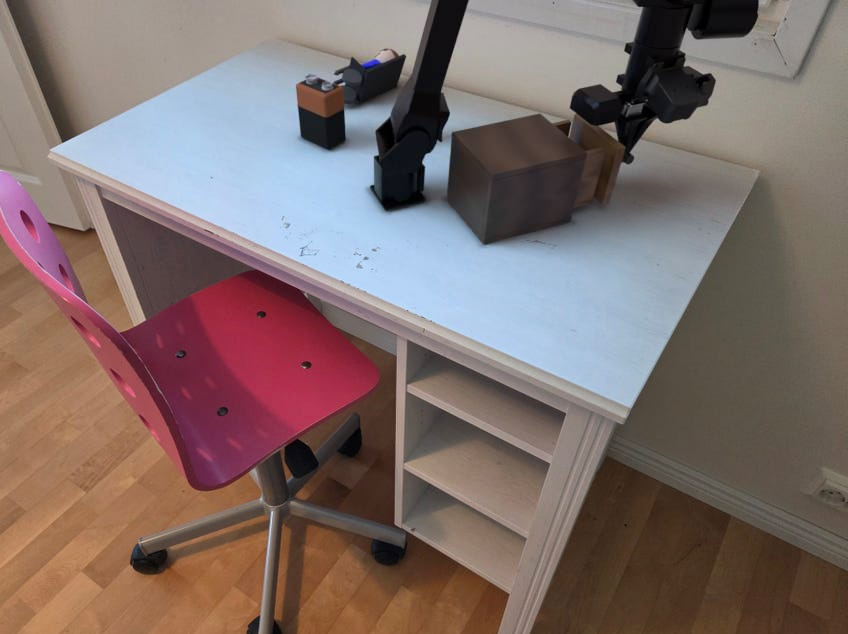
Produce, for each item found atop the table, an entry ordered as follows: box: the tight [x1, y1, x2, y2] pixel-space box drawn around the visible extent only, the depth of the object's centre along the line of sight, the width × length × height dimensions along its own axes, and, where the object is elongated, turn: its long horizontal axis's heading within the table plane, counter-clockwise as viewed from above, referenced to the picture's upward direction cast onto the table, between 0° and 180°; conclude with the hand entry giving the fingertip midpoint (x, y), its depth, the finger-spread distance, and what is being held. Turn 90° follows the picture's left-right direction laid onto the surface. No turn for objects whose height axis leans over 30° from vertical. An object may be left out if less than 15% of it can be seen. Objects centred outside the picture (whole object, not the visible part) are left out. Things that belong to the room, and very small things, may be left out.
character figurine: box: [332, 48, 407, 105], centre depth 116 cm, size 8×7×15 cm
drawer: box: [551, 113, 635, 209], centre depth 91 cm, size 17×10×9 cm, turn 111°
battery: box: [295, 73, 347, 150], centre depth 104 cm, size 4×7×10 cm, turn 48°
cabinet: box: [446, 113, 587, 245], centre depth 89 cm, size 14×12×11 cm
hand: (624, 152), depth 94 cm, fingers closed
